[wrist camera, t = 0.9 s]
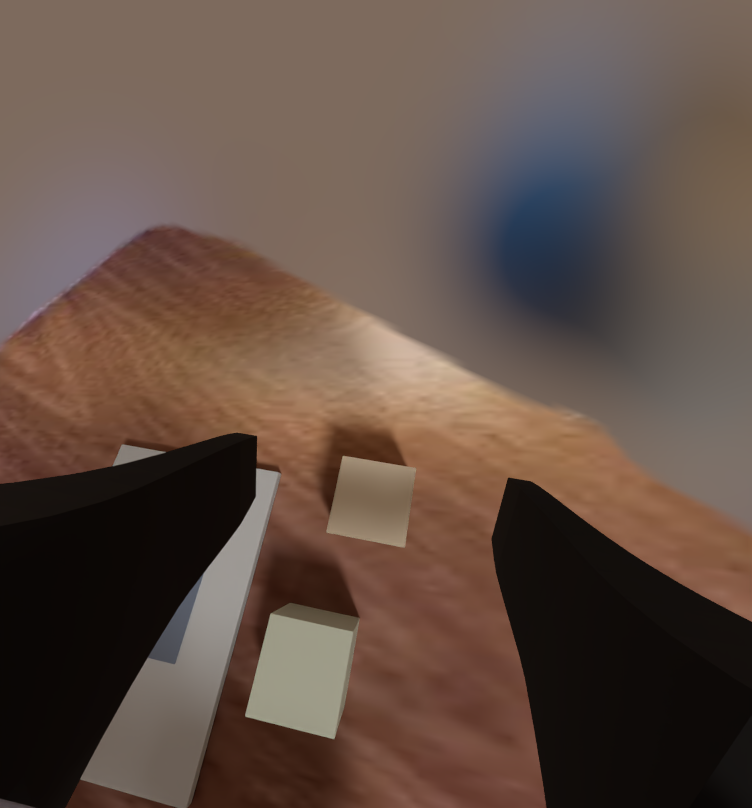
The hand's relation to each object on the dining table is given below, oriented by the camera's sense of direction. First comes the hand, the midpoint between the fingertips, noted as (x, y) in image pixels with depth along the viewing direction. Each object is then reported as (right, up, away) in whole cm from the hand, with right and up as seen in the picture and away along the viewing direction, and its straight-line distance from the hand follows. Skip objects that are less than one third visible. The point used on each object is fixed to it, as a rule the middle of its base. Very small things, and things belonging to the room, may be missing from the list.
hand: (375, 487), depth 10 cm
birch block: (0, -5, +15) cm, 15 cm away
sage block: (-4, -13, +12) cm, 18 cm away
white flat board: (-14, -10, +13) cm, 22 cm away
